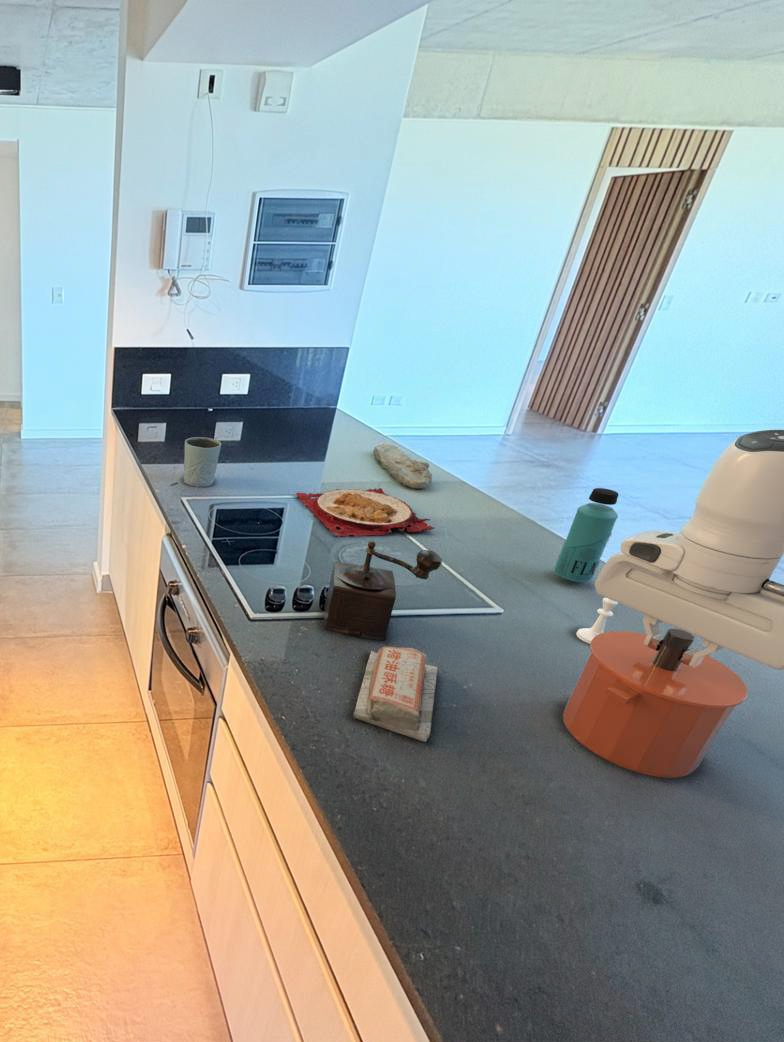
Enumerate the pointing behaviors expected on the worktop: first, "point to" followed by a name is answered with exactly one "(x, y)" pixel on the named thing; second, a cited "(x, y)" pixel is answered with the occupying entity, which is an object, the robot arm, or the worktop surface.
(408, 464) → the long grey stone
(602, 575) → the robot arm
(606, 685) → the pot
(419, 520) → the plate with food
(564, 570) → the beverage bottle
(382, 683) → the packaged product
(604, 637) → the lid
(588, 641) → the chess piece
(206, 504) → the worktop surface
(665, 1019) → the worktop surface
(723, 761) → the worktop surface
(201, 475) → the green ceramic cup
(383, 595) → the brown manual coffee grinder
